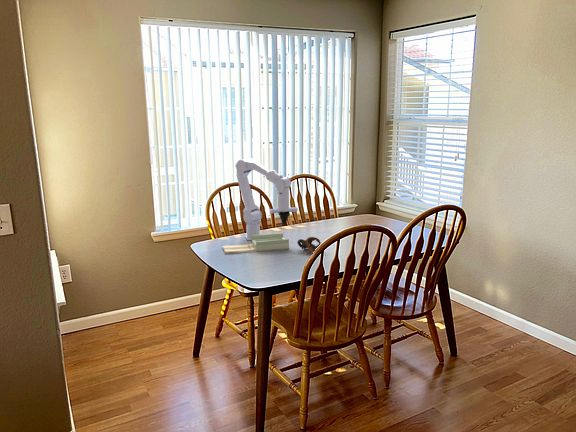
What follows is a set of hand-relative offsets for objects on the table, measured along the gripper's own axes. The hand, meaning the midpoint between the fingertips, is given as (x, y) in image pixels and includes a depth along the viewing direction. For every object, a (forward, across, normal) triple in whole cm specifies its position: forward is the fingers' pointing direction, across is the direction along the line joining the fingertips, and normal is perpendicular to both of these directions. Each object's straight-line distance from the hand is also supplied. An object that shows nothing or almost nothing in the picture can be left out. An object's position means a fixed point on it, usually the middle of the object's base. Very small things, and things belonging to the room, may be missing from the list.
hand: (284, 225), depth 258 cm
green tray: (+10, -8, -4) cm, 14 cm away
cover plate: (+10, -25, -4) cm, 27 cm away
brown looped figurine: (+10, +9, -16) cm, 21 cm away
